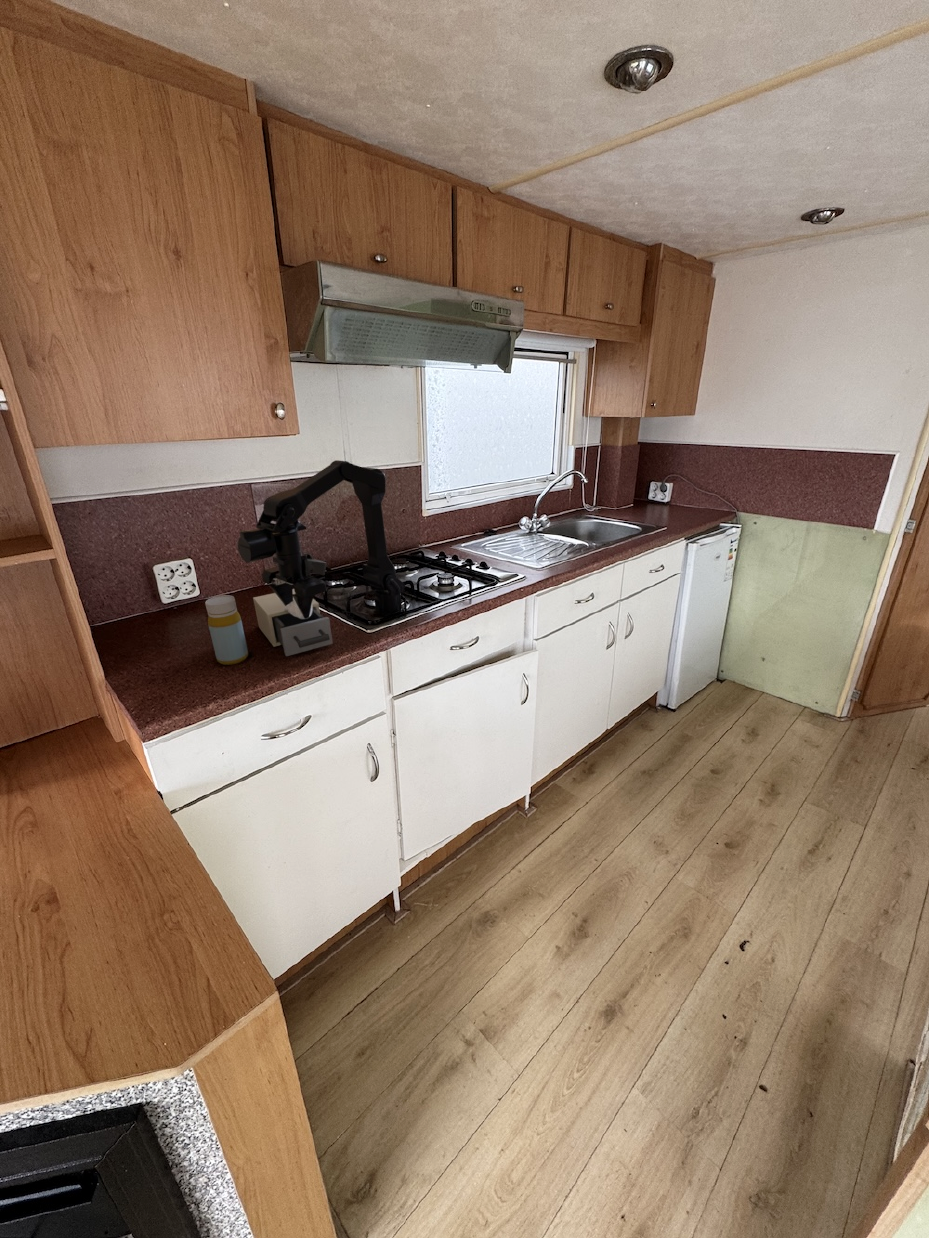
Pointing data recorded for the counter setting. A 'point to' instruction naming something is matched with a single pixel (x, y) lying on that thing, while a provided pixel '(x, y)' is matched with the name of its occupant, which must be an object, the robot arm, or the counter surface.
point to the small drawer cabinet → (272, 613)
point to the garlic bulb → (296, 610)
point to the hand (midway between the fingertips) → (298, 614)
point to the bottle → (226, 630)
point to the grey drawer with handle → (302, 632)
